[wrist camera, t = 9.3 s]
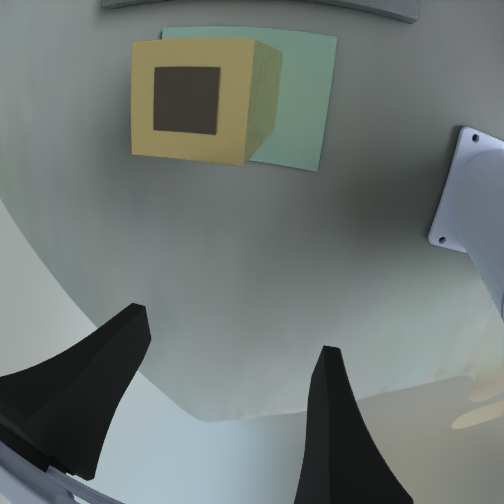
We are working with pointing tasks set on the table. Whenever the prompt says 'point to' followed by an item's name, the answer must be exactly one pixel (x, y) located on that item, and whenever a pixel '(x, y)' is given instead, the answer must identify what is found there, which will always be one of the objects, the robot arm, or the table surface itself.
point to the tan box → (203, 98)
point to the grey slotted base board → (382, 3)
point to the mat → (288, 89)
